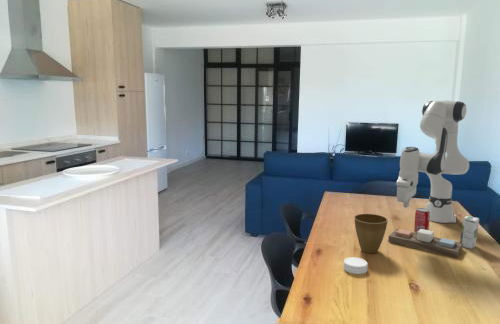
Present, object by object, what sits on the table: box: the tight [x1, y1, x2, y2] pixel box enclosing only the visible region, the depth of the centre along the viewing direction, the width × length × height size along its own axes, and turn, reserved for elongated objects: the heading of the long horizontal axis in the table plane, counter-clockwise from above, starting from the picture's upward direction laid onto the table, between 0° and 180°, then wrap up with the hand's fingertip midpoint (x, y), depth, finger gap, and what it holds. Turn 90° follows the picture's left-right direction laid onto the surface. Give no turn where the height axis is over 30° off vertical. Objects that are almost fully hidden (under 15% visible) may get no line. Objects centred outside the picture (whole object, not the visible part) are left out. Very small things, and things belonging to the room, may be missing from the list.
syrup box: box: [459, 215, 480, 250], centre depth 184 cm, size 6×6×14 cm
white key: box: [417, 229, 434, 243], centre depth 185 cm, size 6×6×4 cm
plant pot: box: [354, 213, 388, 254], centre depth 178 cm, size 15×15×16 cm
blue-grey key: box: [439, 237, 457, 248], centre depth 180 cm, size 6×6×4 cm
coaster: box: [342, 256, 369, 275], centre depth 160 cm, size 10×10×4 cm
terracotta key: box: [396, 228, 413, 238], centre depth 192 cm, size 6×6×4 cm
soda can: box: [413, 207, 430, 233], centre depth 202 cm, size 7×7×13 cm
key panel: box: [387, 228, 463, 259], centre depth 186 cm, size 13×31×3 cm, turn 52°
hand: (406, 206), depth 189 cm, fingers closed
